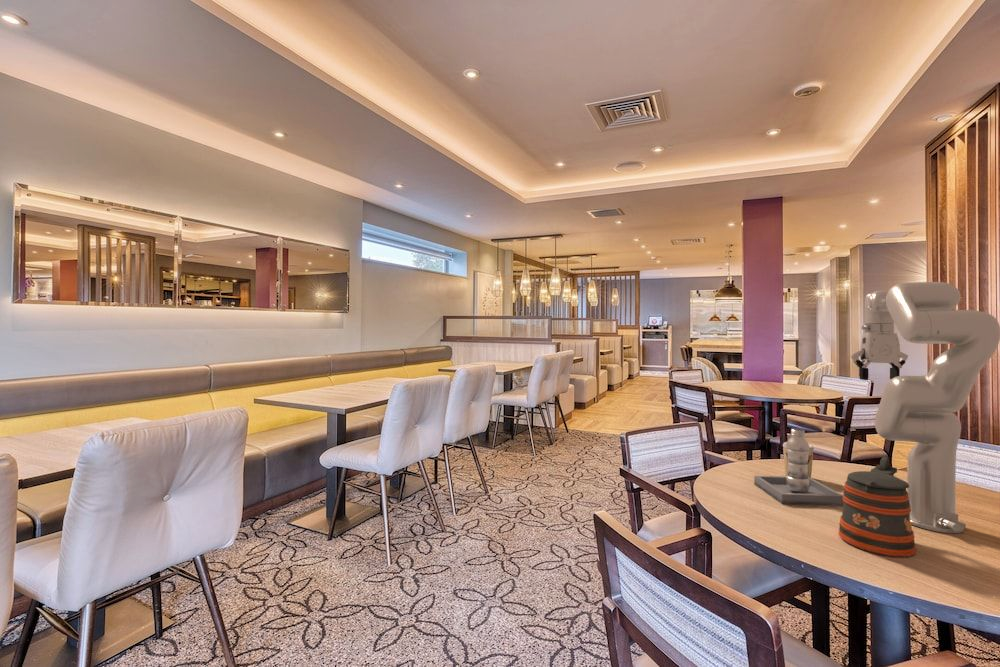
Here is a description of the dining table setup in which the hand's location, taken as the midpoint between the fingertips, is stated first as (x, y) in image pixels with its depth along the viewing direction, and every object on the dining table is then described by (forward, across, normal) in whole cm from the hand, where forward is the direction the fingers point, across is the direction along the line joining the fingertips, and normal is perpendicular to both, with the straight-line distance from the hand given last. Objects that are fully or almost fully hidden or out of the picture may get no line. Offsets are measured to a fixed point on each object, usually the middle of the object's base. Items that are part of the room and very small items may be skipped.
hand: (879, 379), depth 152 cm
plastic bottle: (+36, -32, -10) cm, 48 cm away
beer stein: (+36, -30, -42) cm, 63 cm away
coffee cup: (+37, -22, +8) cm, 43 cm away
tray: (+36, -32, -10) cm, 49 cm away
